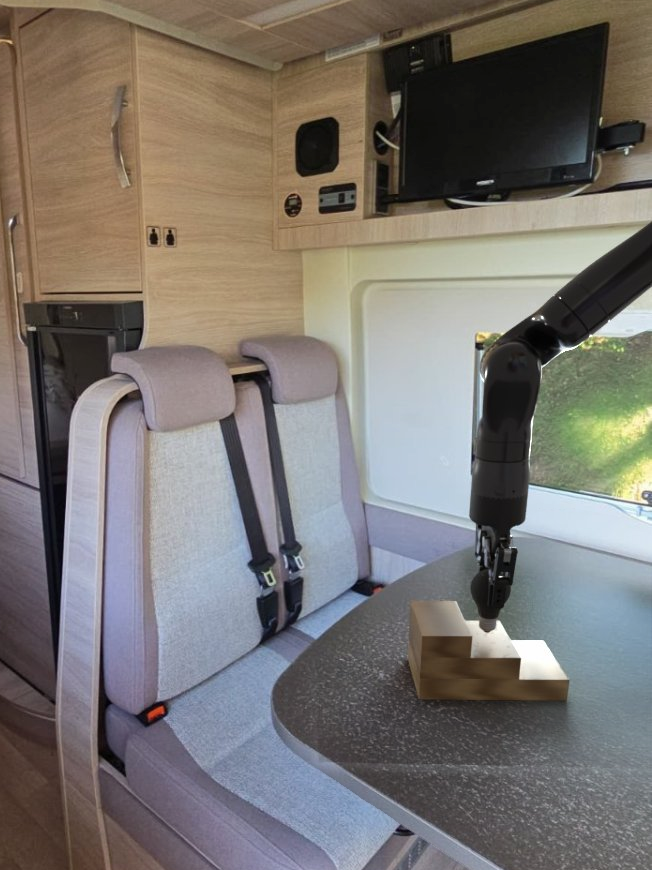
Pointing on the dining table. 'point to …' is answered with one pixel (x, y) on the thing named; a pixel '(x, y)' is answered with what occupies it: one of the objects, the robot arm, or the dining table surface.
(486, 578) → the light bulb
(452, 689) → the step shelf
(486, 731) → the dining table surface
